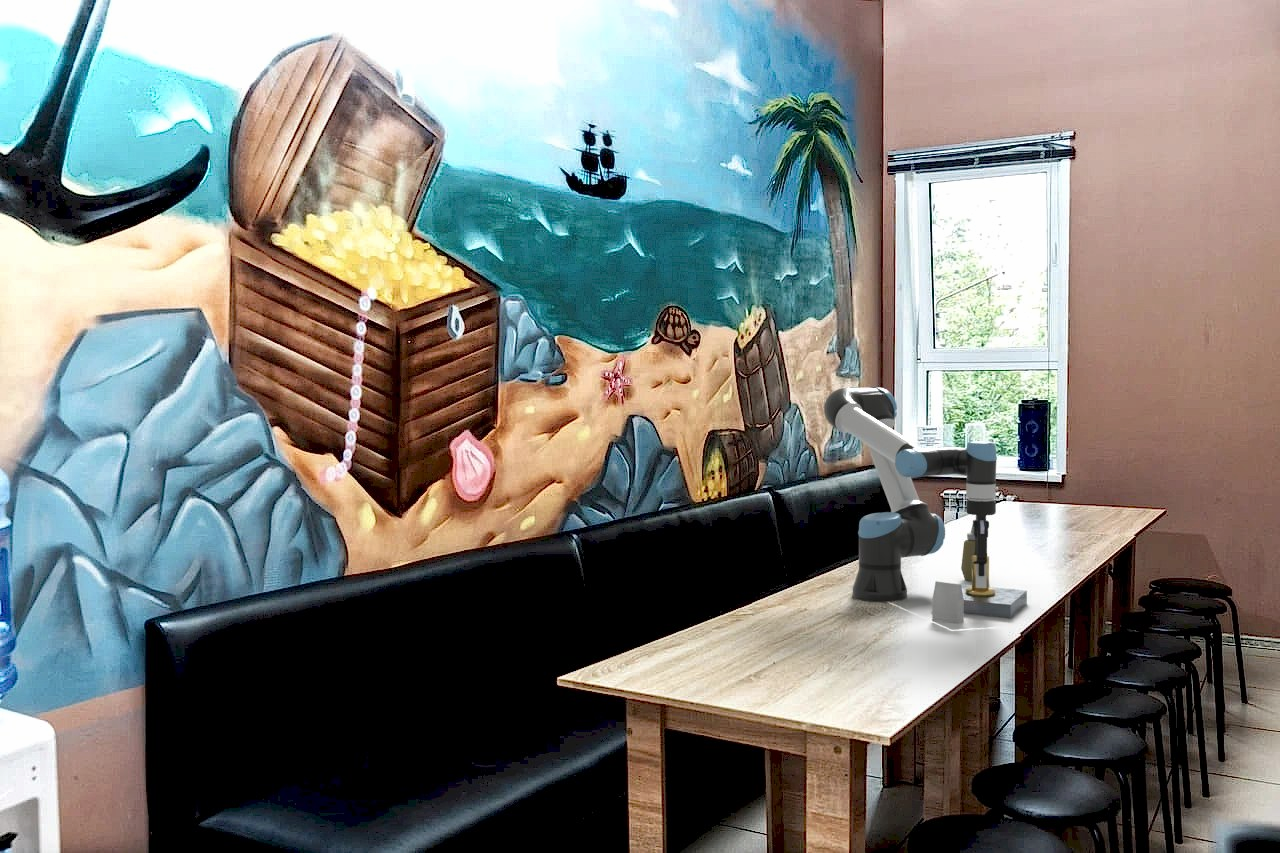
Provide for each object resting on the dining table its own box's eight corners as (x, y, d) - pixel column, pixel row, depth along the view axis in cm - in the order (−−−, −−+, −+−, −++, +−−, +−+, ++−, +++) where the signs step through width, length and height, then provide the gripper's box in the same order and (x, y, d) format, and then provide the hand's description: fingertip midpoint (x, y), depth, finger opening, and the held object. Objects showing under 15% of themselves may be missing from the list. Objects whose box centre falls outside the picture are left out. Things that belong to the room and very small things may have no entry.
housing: (1010, 620, 278) (1010, 604, 278) (932, 611, 288) (932, 596, 288) (1026, 605, 295) (1026, 590, 295) (952, 597, 306) (952, 583, 305)
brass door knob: (980, 611, 287) (981, 560, 286) (959, 605, 293) (959, 555, 293) (1001, 607, 291) (1001, 557, 290) (979, 602, 297) (979, 553, 296)
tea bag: (957, 625, 274) (957, 585, 273) (932, 621, 278) (932, 582, 278) (963, 622, 277) (963, 583, 276) (938, 618, 281) (938, 580, 280)
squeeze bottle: (958, 581, 328) (958, 522, 327) (963, 577, 335) (964, 519, 334) (986, 584, 324) (986, 524, 323) (990, 579, 331) (991, 520, 330)
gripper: (998, 503, 281) (997, 593, 282) (993, 495, 298) (992, 580, 299) (968, 503, 283) (967, 591, 284) (964, 495, 300) (964, 579, 301)
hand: (980, 585), depth 292 cm, fingers closed on brass door knob, 4 cm apart
